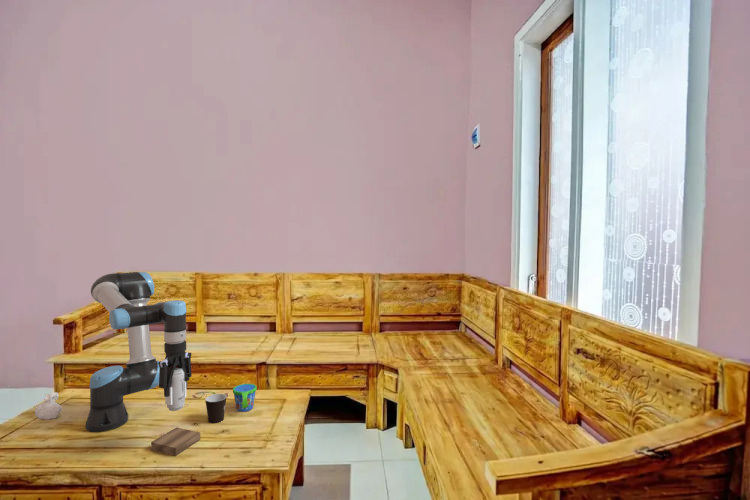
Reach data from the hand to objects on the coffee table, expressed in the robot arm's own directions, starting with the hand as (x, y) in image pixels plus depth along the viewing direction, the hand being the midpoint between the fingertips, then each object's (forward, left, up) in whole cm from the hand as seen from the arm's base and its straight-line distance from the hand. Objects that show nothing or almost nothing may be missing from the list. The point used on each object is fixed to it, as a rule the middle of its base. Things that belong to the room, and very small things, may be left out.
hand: (176, 400), depth 150 cm
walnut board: (0, 0, -17) cm, 17 cm away
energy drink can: (0, 0, -3) cm, 3 cm away
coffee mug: (0, +23, -18) cm, 29 cm away
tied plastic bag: (-71, -1, -18) cm, 73 cm away
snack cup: (+5, +35, -18) cm, 40 cm away
